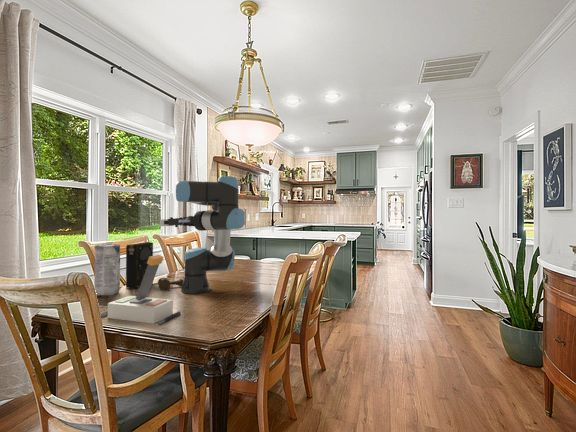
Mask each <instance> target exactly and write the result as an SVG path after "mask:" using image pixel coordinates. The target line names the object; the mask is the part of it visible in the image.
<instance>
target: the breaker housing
mask: <svg viewBox="0 0 576 432" xmlns="http://www.w3.org/2000/svg"><path fill="white" fill-rule="evenodd" d="M136 296H137V295H136ZM136 296H135V295H128V296H125V297H122V298H119V299H115V300H113V301H110V302H107V311H108V315H107V319H114V320H123V321H131V322H136V323H137V322H139V323H148V324H155V323H158V321H160V320H162V319H164V318H166V317H168V316H170V315H172V314H174V310H173V309H174V307H173V305H174V300H173V299H166V298H158V297H157V298H156V297H148V296H147V298H144V299H142V300H139V301H138V300H137V299H136Z"/></svg>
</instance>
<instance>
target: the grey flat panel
mask: <svg viewBox="0 0 576 432" xmlns="http://www.w3.org/2000/svg"><path fill="white" fill-rule="evenodd" d="M100 314H101V318H104V317H106V316H108V310H107V311H106V312H103V313H102V312H101V313H100ZM180 315H181V311H179V310H178V311H176V312H173V314H172V315H170V316H168V317H166V318H164V319H162V320H160V321H158V322H157V325H159V326H160V325H162V324H164V323H166V322H169V321H170V320H172V319H174V318H176V317H178V316H180Z"/></svg>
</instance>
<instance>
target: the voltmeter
mask: <svg viewBox="0 0 576 432" xmlns="http://www.w3.org/2000/svg"><path fill="white" fill-rule="evenodd" d="M125 249H126V250H125V254H126V255H125V257H126V258H125V288H127V289H135V290H139V288H140V285H141V283H142V280H143V277H144V274H145V272H146V269H147V266H148V264H147V262H148V259H149V257H150V256H154V243H153V242H151V241H150V242H149V241H143V242H137V243H131V244H126V246H125Z"/></svg>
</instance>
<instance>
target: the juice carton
mask: <svg viewBox="0 0 576 432" xmlns="http://www.w3.org/2000/svg"><path fill="white" fill-rule="evenodd" d="M120 286H121V245H120V244H119V243H118V244H113V242H110V241H107V242H106V244H104V243H103V244H98V245H95V246H94V291H95V290H96V293H97V295H96V296H114V295H115V294H118V293H119V291H120Z"/></svg>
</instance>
